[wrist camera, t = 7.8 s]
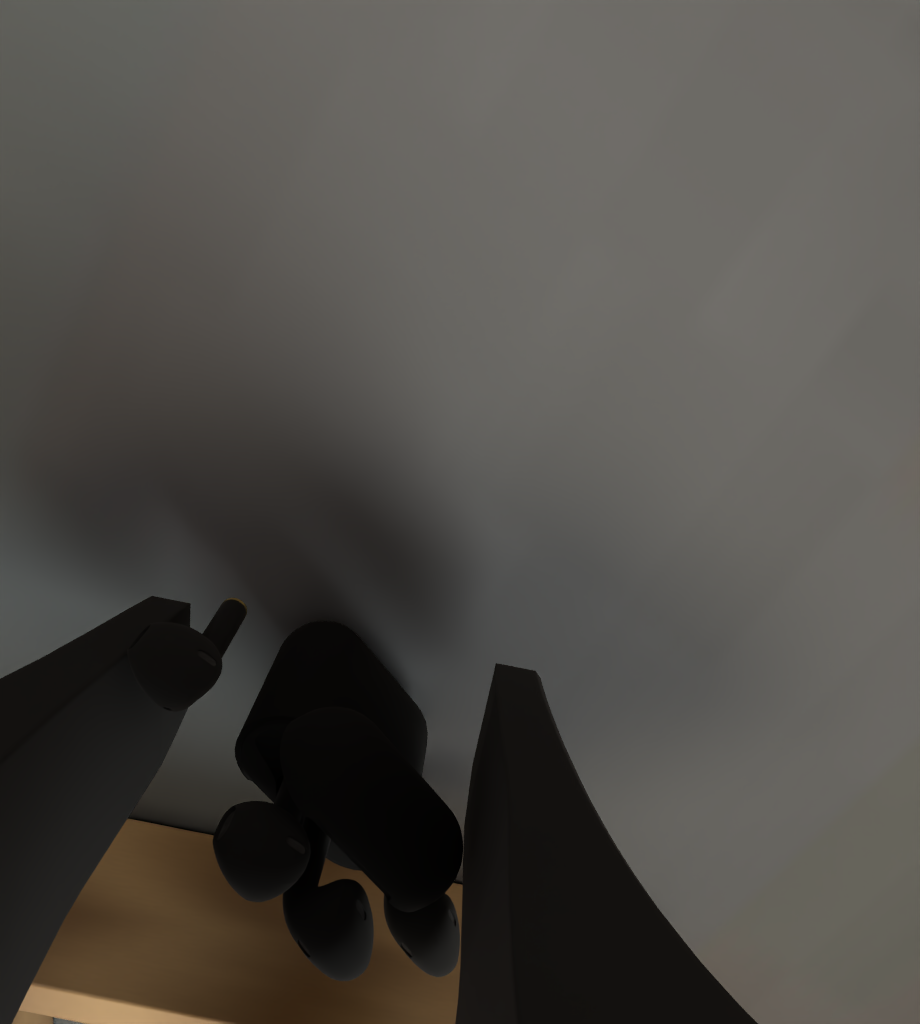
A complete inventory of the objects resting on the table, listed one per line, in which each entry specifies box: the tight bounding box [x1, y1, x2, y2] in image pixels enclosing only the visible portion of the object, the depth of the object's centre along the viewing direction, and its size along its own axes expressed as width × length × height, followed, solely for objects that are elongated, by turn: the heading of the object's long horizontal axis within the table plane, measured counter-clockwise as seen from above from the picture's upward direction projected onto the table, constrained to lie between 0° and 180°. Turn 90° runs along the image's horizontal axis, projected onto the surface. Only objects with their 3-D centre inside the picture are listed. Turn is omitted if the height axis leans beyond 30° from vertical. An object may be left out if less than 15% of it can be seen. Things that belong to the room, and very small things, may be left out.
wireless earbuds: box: [127, 598, 463, 981], centre depth 12 cm, size 7×2×5 cm, turn 34°
